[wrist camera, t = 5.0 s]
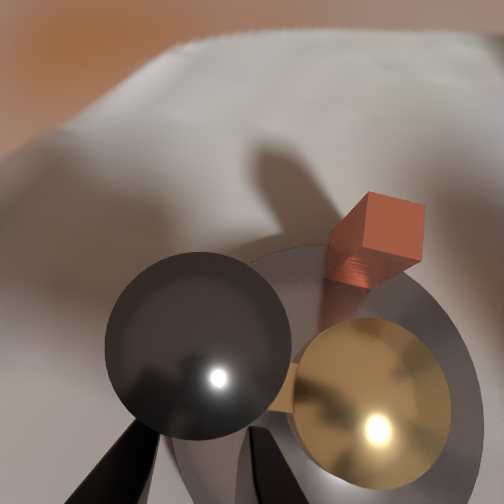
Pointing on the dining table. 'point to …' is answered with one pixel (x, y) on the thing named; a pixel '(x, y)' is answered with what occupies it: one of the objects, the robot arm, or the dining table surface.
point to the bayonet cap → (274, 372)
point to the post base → (342, 309)
